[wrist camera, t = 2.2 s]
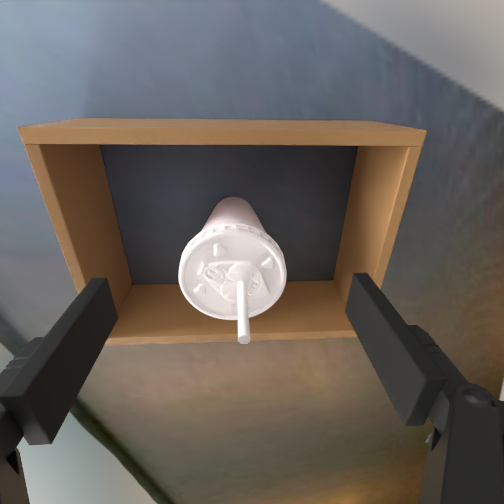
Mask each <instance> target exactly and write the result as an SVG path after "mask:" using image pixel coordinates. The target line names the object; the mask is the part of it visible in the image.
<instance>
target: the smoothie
mask: <svg viewBox="0 0 504 504" xmlns="http://www.w3.org/2000/svg"><path fill="white" fill-rule="evenodd" d="M178 276H179V284H180V288H181V290H182V292H183V294H184V296H185V297H186V299H187V300H188V301H189V302H190V303H191V304H192V305H193V306H194V307H195V308H196V309H198V310H199V311H201V312H203V313H204V314H207V315H209V316H212V317H215V318H219V319H225V320H238V341H239V343H241V344H247V343H248V342H249V341H250V328H249V318H250V317H253V316H256V315H258V314H260V313H262V312H264V311H266V310H267V309H269V308H270V307H271V306H272V305H273V304H274V303H275V302H276V301H277V300H278V299H279V297H280V296H281V294H282V292H283V290H284V287H285V284H286V278H287V271H286V266H285V261H284V255H283V253H282V251H281V249H280V248H279V246H278V244H277V243H276V242H275V241H274V240H273V239H272V238H271V237H270V236H269V235H268V234H267V233H266V232H265V230H264V228H263V227H262V225H261V223H260V221H259V219H258V217H257V216H256V214H255V212H254V210H253V208H252V207H251V205H250V204H249V203H248V202H247V201H245V200H244V199H242V198H238V197H228V198H225V199H223V200H221V201H220V202H219V203H218V204H217V205H216V206H215V208H214V210H213V211H212V213H211V215H210V217H209V218H208V220H207V222H206V224H205V225H204V227H203V229H202V230H201V232H200V233H198V234H197V235H196V236H195V237H194V238H193V239H192V240H191V241H190V242H189V243H188V244H187V246H186V248H185V249H184V251H183V253H182V256H181V261H180V267H179V274H178Z"/></svg>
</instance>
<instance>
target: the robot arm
mask: <svg viewBox="0 0 504 504" xmlns="http://www.w3.org/2000/svg"><path fill="white" fill-rule="evenodd" d="M345 313H346V315H347V317H348V319H349V321H350V323H351V325H352V327H353V329H354V331H355V333H356V335H357V336H358V338H359V340H360V342H361V344H362V346H363V348H364V350H365V352H366V354H367V356H368V358H369V360H370V361H371V363H372V365H373V367H374V369H375V371H376V373H377V375H378V377H379V379H380V381H381V383H382V385H383V386H384V388H385V390H386V392H387V394H388V396H389V398H390V400H391V402H392V404H393V406H394V408H395V410H396V411H397V413H398V415H399V417H400V419H401V421H402V423H403V425H404V426H418V425H424V423H425V421H426V419H427V417H428V416H429V418H430V419H431V421H432V423H433V424H434V427H433V429H432V431H431V433H430V435H429V436H428V438H427V440H426V442H427V443H428V444H429V448H428V454H427V459H426V465H425V470H424V476H423V481H422V487H421V492H420V497H419V503H418V504H504V401H500V400H497V399H496V398H495V397H494V396H493V395H492V394H490V393H489V392H488V391H487V390H485V389H483V388H482V387H480V386H478V385H475V384H472V383H469V382H468V381H467V380H466V379H465V378H464V376H463V375H462V374H461V373H460V372H459V370H458V369H457V368H456V367H455V366H454V364H453V363H452V362H451V361H450V360H449V358H448V357H447V356H446V355H445V353H443V352H442V350H441V349H440V347H439V346H438V345H436V343H435V341H434V340H433V339H432V338H431V337H430V335H429V334H428V333H427V332H425V331H424V330H423V329H421V328H420V327H418V326H417V325H407V324H406V323H405V321H404V320H403V319H402V317H401V316H400V315H399V314H398V312H397V311H396V310H395V308H394V307H393V306H392V304H391V303H390V302H389V301H388V299H387V298H386V297H385V295H384V294H383V293H382V291H381V290H380V289H379V287H378V286H377V285H376V284H375V282H374V281H373V280H372V278H371V277H370V276H369V274H368V273H353V277H352V281H351V286H350V290H349V295H348V299H347V304H346V309H345ZM117 320H118V315H117V311H116V308H115V304H114V301H113V297H112V293H111V290H110V286H109V283H108V279H107V278H91V280H90V281H89V282H88V283H87V285H86V286H85V287H84V289H83V290H82V291H81V292H80V294H79V295H78V296H77V297H76V299H75V300H74V301H73V302H72V304H71V305H70V306H69V307H68V309H67V310H66V311H65V312H64V314H63V315H62V316H61V317H60V319H59V320H58V321H57V322H56V324H55V325H54V326H53V327H52V329H51V330H50V331H49V332H48V334H47V335H46V336H45V337H38V338H35V339H33V340H32V341H30V342H29V343H28V344H26V345H25V346H24V347H22V349H21V350H20V351H19V352H18V353H17V354H16V356H15V357H14V359H13V360H12V361H10V363H9V364H8V365H7V366H6V369H4V370H3V371H2V372H1V373H0V504H30V503H29V498H28V493H27V488H26V483H25V478H24V473H23V468H22V463H21V457H20V453H19V451H18V449H17V448H16V447H17V445H18V444H19V442H20V441H21V439H22V437H23V436H24V438H25V439H26V441H27V442H28V444H29V445H43V444H52V442H53V440H54V438H55V437H56V435H57V433H58V431H59V429H60V427H61V425H62V423H63V422H64V420H65V418H66V416H67V414H68V412H69V410H70V408H71V407H72V405H73V403H74V401H75V399H76V397H77V395H78V393H79V391H80V390H81V388H82V386H83V384H84V382H85V380H86V378H87V376H88V374H89V373H90V371H91V369H92V367H93V365H94V363H95V361H96V359H97V358H98V356H99V354H100V352H101V350H102V348H103V346H104V344H105V342H106V341H107V339H108V337H109V335H110V333H111V331H112V329H113V327H114V326H115V324H116V322H117Z"/></svg>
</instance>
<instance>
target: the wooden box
mask: <svg viewBox="0 0 504 504" xmlns="http://www.w3.org/2000/svg"><path fill="white" fill-rule="evenodd" d="M18 131H19V134H20V136H21V139H22V142H23V143H24V147H25V149H26V152H27V155H28V158H29V161H30V163H31V166H32V169H33V172H34V174H35V177H36V180H37V183H38V185H39V188H40V191H41V194H42V196H43V199H44V202H45V205H46V208H47V210H48V213H49V216H50V219H51V221H52V224H53V227H54V230H55V232H56V235H57V238H58V241H59V244H60V246H61V249H62V252H63V255H64V257H65V260H66V263H67V266H68V268H69V271H70V274H71V277H72V280H73V282H74V285H75V288H76V291H77V293H78V295H79V294H80V292H81V291H82V290H83V289H84V287H85V286H86V285H87V283H88V282H89V281H90V280H91V278H107V279H108V283H109V286H110V290H111V293H112V297H113V301H114V304H115V308H116V311H117V315H118V320H117V322H116V324H115V326H114V327H113V329H112V331H111V333H110V335H109V337H108V339H107V341H106V342H105V344H104V345H134V344H164V343H194V342H224V341H238V320H225V319H219V318H215V317H212V316H209V315H207V314H204V313H203V312H201V311H199V310H198V309H196V308H195V307H194V306H193V305H192V304H191V303H190V302H189V301H188V300H187V299H186V297H185V296H184V294H183V292H182V290H181V288H180V284H146V285H132V280H131V276H130V272H129V267H128V263H127V259H126V255H125V251H124V246H123V242H122V238H121V234H120V230H119V225H118V221H117V217H116V213H115V209H114V204H113V200H112V196H111V192H110V188H109V183H108V179H107V175H106V171H105V167H104V162H103V158H102V154H101V150H100V145H99V144H160V145H350V146H358V150H357V155H356V160H355V166H354V171H353V177H352V182H351V187H350V193H349V198H348V203H347V209H346V214H345V219H344V225H343V230H342V236H341V241H340V246H339V252H338V257H337V262H336V268H335V273H334V278H333V280H330V281H286V284H285V287H284V290H283V292H282V294H281V296H280V297H279V299H278V300H277V301H276V302H275V303H274V304H273V305H272V306H271V307H270V308H269V309H267V310H266V311H264V312H262V313H260V314H258V315H256V316H253V317H250V318H249V328H250V341H254V340H284V339H314V338H344V337H358V336H357V335H356V333H355V331H354V329H353V327H352V325H351V323H350V321H349V319H348V317H347V315H346V313H345V309H346V304H347V299H348V295H349V290H350V286H351V281H352V277H353V273H368V274H369V276H370V277H371V278H372V280H373V281H374V282H375V284H376V285H377V286H378V287H379V289H380V290H381V287H382V283H383V280H384V276H385V273H386V270H387V266H388V263H389V259H390V256H391V252H392V249H393V246H394V242H395V239H396V235H397V232H398V228H399V225H400V222H401V218H402V215H403V211H404V208H405V204H406V201H407V198H408V194H409V191H410V187H411V184H412V181H413V177H414V174H415V170H416V167H417V163H418V160H419V157H420V153H421V150H422V146H423V144H424V140H425V137H426V133H427V131H426V130H421V129H415V128H409V127H404V126H398V125H393V124H387V123H382V122H376V121H341V120H244V119H146V118H78V119H71V120H64V121H57V122H50V123H43V124H36V125H29V126H22V127H18Z"/></svg>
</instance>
